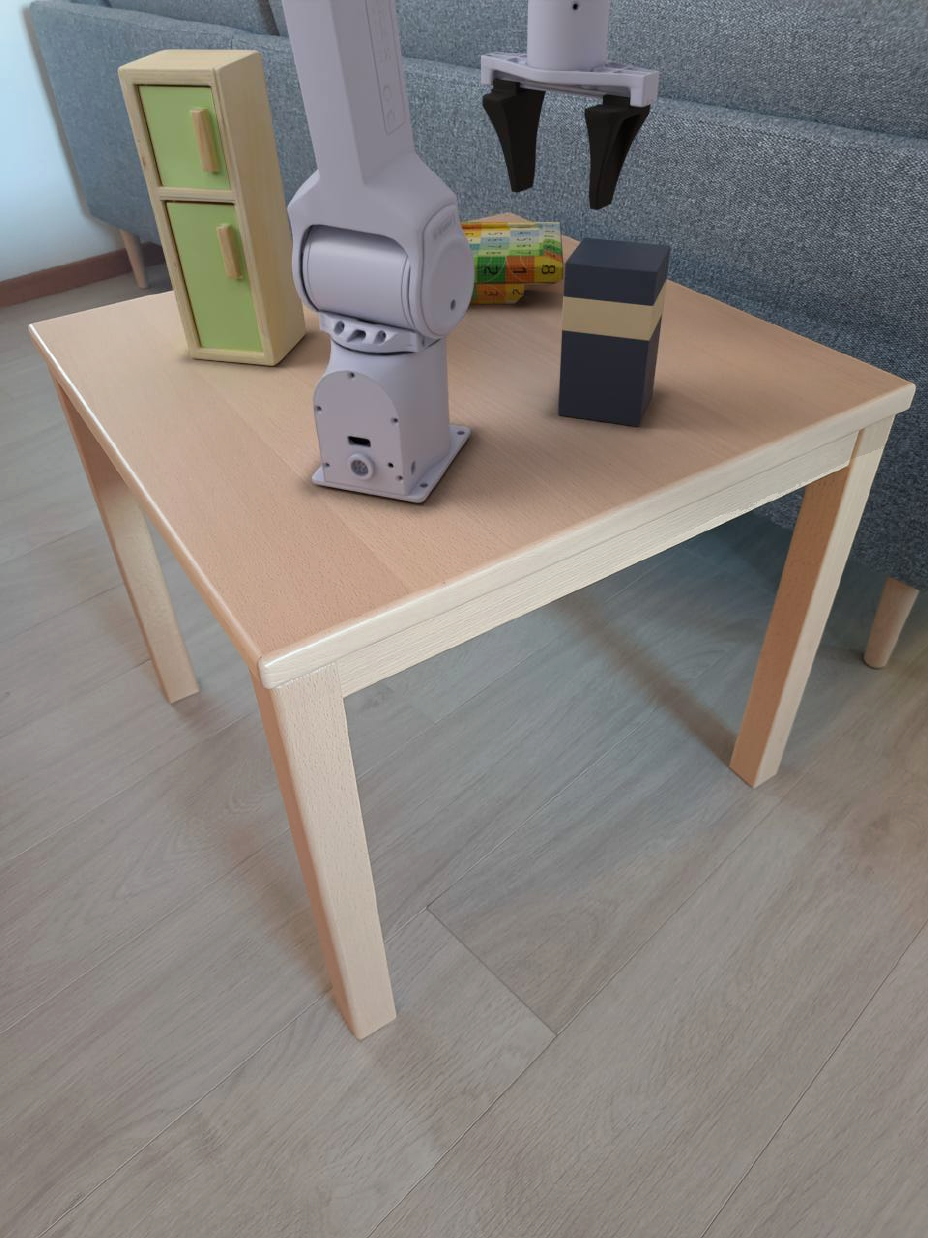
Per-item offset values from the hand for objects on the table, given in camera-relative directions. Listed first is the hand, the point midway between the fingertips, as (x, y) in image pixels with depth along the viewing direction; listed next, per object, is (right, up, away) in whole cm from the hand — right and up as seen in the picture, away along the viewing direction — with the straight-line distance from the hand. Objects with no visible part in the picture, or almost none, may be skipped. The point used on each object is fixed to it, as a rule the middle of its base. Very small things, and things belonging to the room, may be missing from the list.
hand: (560, 197), depth 71 cm
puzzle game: (-9, -2, +14) cm, 16 cm away
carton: (+3, -18, -5) cm, 18 cm away
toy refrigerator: (-26, -11, +4) cm, 29 cm away
